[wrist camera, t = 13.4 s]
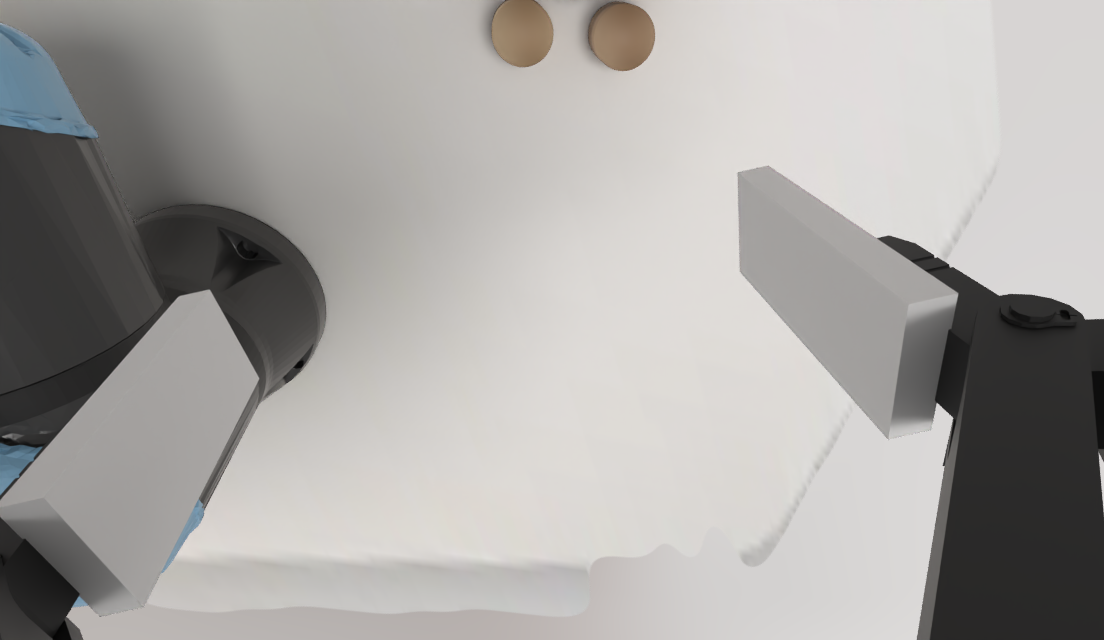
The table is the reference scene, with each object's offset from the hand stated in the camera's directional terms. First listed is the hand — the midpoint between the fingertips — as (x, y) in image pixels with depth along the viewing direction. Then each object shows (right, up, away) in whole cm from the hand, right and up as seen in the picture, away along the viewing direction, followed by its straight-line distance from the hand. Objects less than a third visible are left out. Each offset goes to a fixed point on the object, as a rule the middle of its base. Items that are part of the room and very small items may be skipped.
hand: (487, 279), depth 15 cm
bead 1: (0, +17, +23) cm, 28 cm away
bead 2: (+6, +17, +23) cm, 29 cm away
